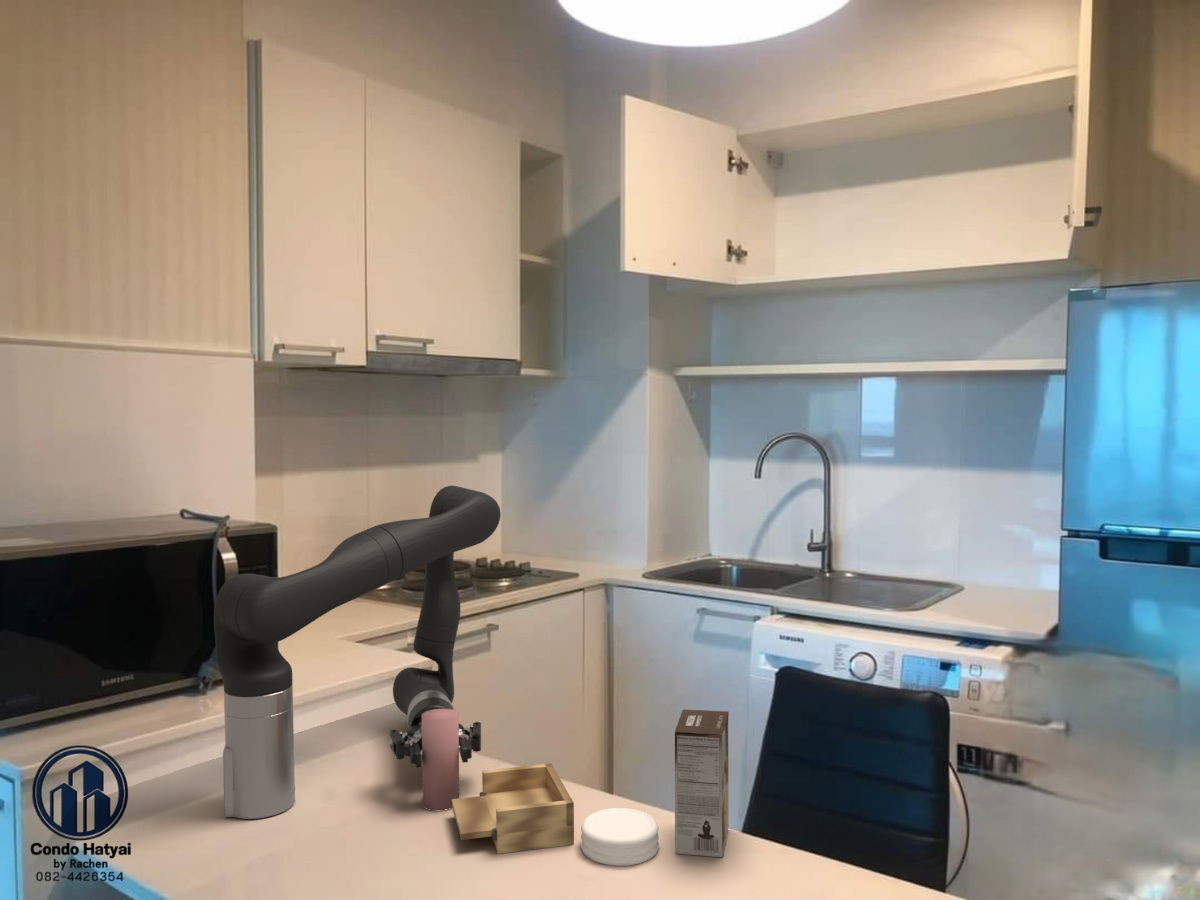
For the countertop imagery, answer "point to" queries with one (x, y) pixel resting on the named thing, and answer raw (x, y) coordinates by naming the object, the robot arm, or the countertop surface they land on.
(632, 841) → the white round ridged container
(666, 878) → the countertop surface
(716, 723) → the coffee box
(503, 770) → the box
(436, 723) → the pink pillar candle
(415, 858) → the countertop surface
